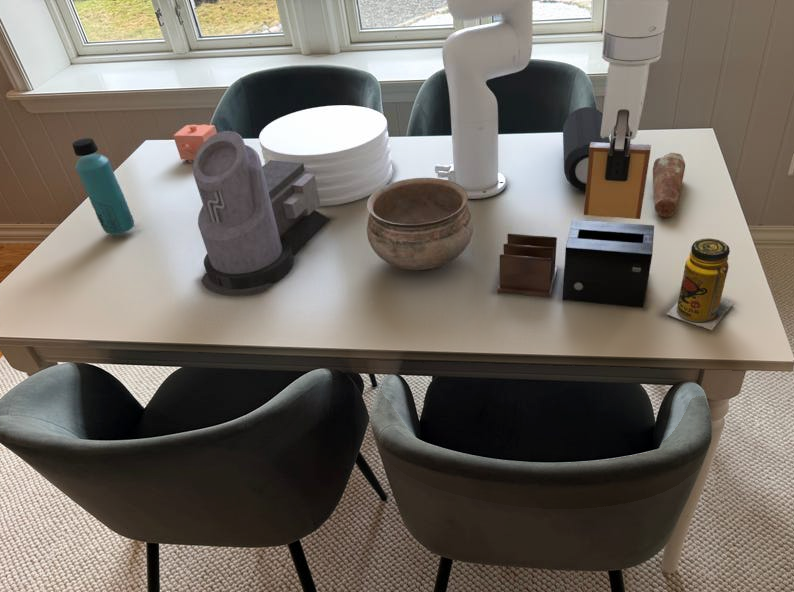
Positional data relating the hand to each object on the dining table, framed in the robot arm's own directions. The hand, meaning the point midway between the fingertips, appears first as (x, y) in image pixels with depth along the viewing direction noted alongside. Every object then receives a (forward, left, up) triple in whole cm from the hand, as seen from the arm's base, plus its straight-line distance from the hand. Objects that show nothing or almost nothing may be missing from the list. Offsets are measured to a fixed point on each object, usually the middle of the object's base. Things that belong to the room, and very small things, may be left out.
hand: (616, 175), depth 99 cm
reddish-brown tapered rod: (+10, +34, -20) cm, 41 cm away
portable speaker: (-8, +45, -20) cm, 50 cm away
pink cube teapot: (-102, +40, -20) cm, 111 cm away
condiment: (+15, -4, -20) cm, 26 cm away
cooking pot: (-33, +3, -20) cm, 39 cm away
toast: (0, 0, -6) cm, 6 cm away
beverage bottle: (-99, +3, -20) cm, 101 cm away
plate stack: (-64, +34, -20) cm, 75 cm away
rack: (-13, 0, -20) cm, 24 cm away
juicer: (-64, +1, -20) cm, 67 cm away
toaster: (0, 0, -20) cm, 20 cm away
